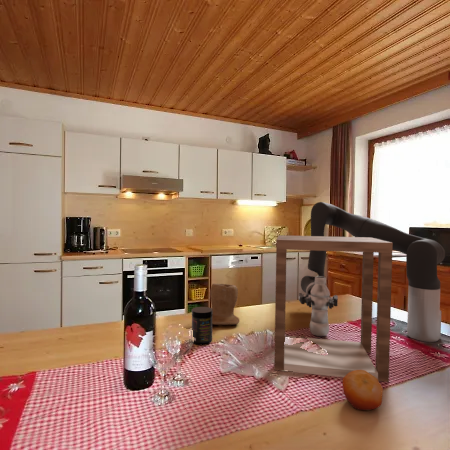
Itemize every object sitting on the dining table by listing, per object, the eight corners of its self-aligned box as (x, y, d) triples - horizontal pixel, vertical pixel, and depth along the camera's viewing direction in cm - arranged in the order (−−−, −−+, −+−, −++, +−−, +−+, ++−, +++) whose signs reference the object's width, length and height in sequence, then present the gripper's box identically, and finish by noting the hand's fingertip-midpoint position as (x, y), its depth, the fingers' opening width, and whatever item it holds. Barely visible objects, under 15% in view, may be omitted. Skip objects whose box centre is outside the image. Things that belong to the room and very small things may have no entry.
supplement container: (216, 342, 103) (217, 310, 103) (200, 347, 99) (200, 314, 99) (203, 336, 108) (203, 305, 108) (187, 341, 104) (187, 309, 104)
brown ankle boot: (238, 318, 128) (239, 280, 128) (239, 328, 116) (240, 287, 116) (200, 317, 128) (201, 280, 128) (197, 327, 116) (198, 286, 116)
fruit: (366, 384, 76) (376, 363, 71) (381, 419, 69) (392, 399, 65) (332, 384, 75) (340, 363, 71) (344, 419, 69) (353, 399, 64)
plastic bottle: (326, 331, 114) (327, 275, 113) (331, 339, 107) (332, 279, 107) (308, 331, 114) (309, 275, 114) (311, 338, 108) (312, 278, 107)
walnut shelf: (277, 341, 105) (278, 235, 104) (369, 349, 99) (371, 237, 98) (274, 370, 85) (276, 239, 84) (388, 382, 80) (392, 242, 79)
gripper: (297, 282, 126) (298, 292, 109) (336, 284, 123) (343, 295, 107) (297, 301, 126) (298, 314, 110) (335, 304, 123) (342, 317, 107)
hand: (320, 305), depth 108 cm, fingers closed on plastic bottle, 6 cm apart
